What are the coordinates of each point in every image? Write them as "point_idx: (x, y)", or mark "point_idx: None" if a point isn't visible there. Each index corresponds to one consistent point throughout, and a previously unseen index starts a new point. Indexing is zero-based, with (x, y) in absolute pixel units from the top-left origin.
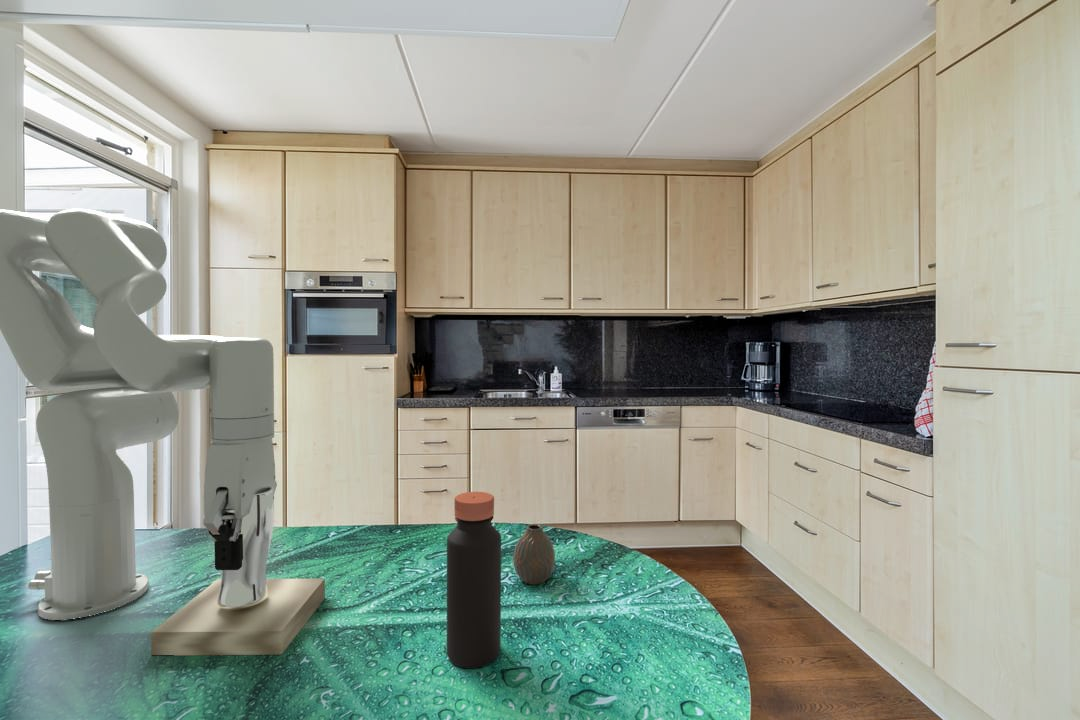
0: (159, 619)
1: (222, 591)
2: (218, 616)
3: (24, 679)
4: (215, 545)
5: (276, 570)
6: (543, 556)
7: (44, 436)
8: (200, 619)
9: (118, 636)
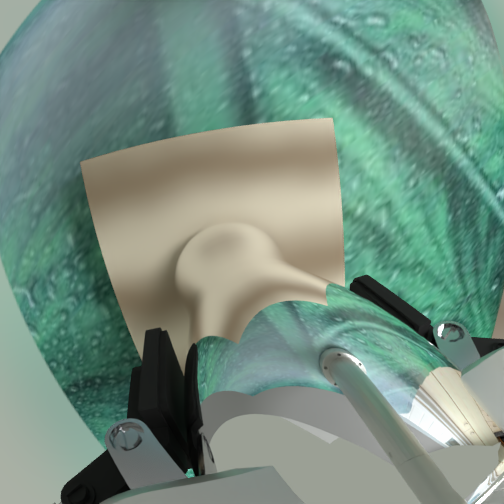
0: (215, 60)
1: (187, 274)
2: (167, 258)
3: (29, 29)
4: (140, 393)
5: (416, 171)
6: None
7: None
8: (145, 229)
9: (147, 38)
